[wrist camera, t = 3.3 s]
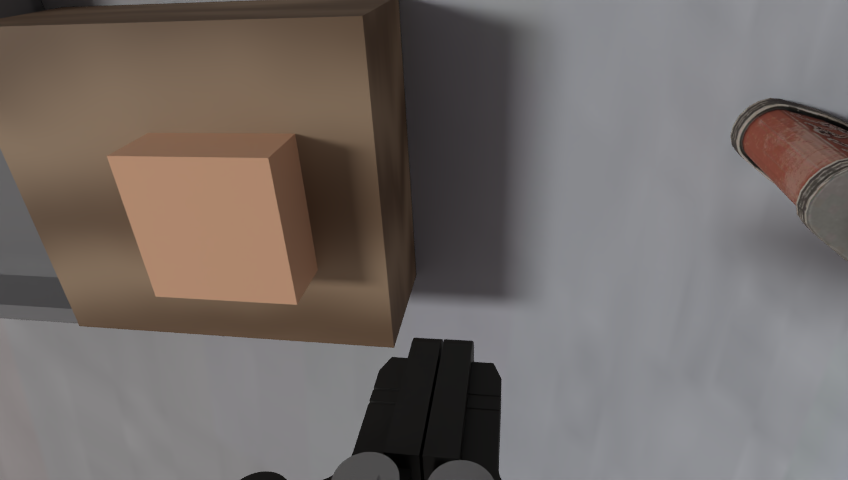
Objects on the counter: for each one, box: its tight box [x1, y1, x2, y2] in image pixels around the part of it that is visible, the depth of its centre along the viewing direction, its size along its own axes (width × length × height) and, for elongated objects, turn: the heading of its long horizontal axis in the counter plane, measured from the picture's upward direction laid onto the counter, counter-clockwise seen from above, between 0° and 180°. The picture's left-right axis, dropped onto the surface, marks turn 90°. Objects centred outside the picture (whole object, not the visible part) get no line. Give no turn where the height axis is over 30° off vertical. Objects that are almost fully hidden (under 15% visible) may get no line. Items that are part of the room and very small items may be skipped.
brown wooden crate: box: [0, 0, 416, 348], centre depth 25 cm, size 14×16×6 cm
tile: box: [107, 133, 318, 305], centre depth 21 cm, size 6×6×2 cm
